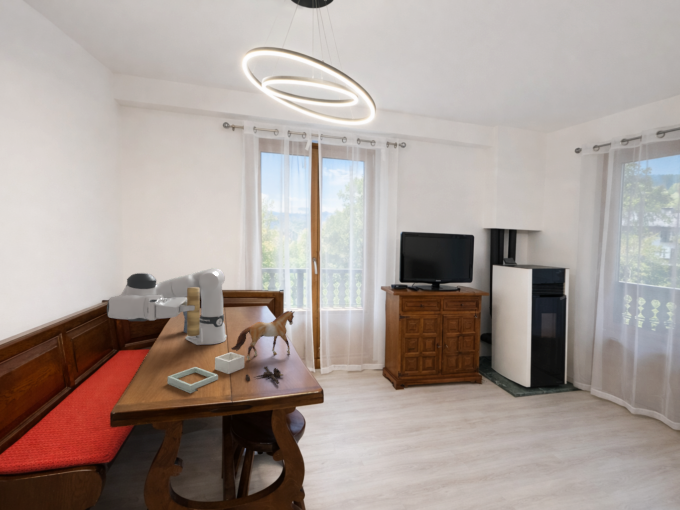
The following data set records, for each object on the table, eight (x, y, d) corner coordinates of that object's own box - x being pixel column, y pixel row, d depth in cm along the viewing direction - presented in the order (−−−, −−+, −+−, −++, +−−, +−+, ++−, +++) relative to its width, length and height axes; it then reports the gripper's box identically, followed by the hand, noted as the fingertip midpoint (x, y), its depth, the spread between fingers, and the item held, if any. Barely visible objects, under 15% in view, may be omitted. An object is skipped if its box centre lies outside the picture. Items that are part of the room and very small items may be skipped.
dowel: (185, 334, 129) (185, 287, 128) (197, 332, 132) (197, 286, 131) (189, 336, 126) (189, 289, 125) (201, 334, 129) (201, 288, 128)
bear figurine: (241, 367, 140) (274, 358, 147) (242, 377, 140) (275, 368, 147) (252, 384, 124) (289, 374, 131) (252, 395, 124) (290, 384, 131)
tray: (167, 383, 128) (167, 376, 128) (195, 373, 139) (195, 366, 138) (190, 393, 121) (190, 385, 121) (217, 381, 131) (218, 374, 131)
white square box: (214, 371, 141) (215, 357, 141) (230, 365, 148) (231, 352, 148) (228, 376, 137) (228, 361, 136) (244, 369, 144) (244, 356, 144)
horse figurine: (292, 349, 172) (293, 309, 171) (298, 354, 165) (299, 312, 164) (230, 360, 155) (231, 316, 154) (235, 365, 148) (236, 319, 147)
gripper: (164, 309, 136) (200, 308, 139) (147, 321, 116) (190, 320, 119) (164, 293, 135) (200, 293, 139) (147, 303, 115) (191, 303, 119)
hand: (196, 306), depth 129 cm, fingers closed on dowel, 4 cm apart
